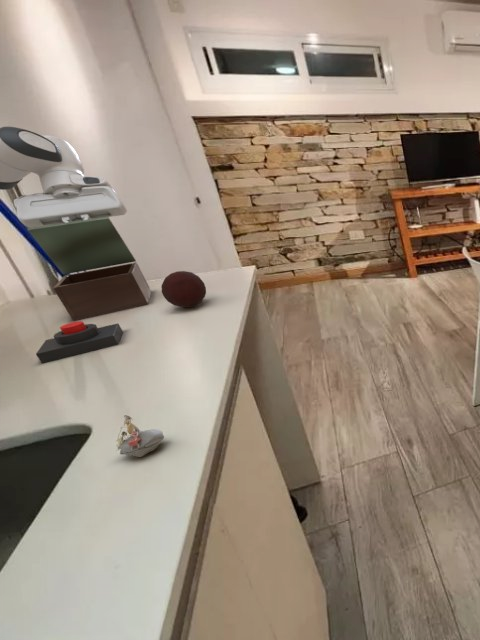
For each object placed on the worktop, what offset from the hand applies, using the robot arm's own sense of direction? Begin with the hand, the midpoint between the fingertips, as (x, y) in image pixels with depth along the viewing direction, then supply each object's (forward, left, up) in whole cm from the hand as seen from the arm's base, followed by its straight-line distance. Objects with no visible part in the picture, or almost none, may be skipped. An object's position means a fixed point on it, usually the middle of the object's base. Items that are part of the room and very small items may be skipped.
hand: (81, 231), depth 125 cm
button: (-2, -39, -15) cm, 42 cm away
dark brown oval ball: (+17, -26, -19) cm, 37 cm away
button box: (-2, -39, -19) cm, 43 cm away
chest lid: (0, -4, -3) cm, 5 cm away
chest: (0, -7, -19) cm, 20 cm away
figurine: (+12, -99, -19) cm, 102 cm away
